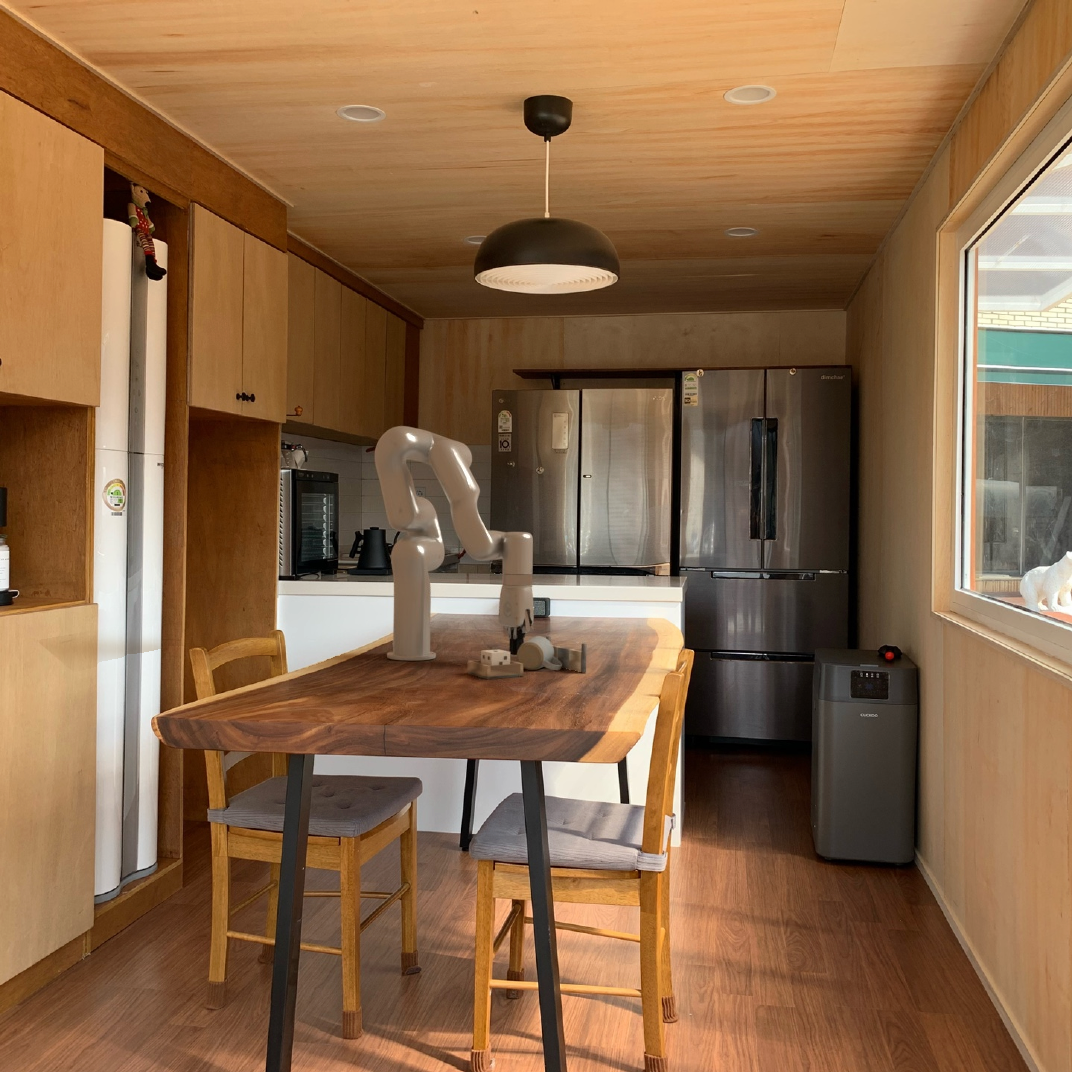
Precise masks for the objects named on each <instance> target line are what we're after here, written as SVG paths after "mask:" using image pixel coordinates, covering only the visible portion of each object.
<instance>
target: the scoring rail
mask: <svg viewBox="0 0 1072 1072" xmlns="http://www.w3.org/2000/svg"><path fill="white" fill-rule="evenodd" d="M545 638H546V639H548V640H549V641H550V642H551V640H552V639H551V638H552V637H551V636H548V635H547V636H545ZM552 646H553V648H554V657H555V658H557V659H558V660H559V661H560V662H561V663H562V667H561V669H562V668H567V669H570V670H569V671H571V670H576V671H579V672H582V673H581V674H586V673H587V649H588V647H587V643H581V650H578V649H573V648H569V647H563V646H559V645H554V644H552ZM552 664H553V663H552ZM567 669H566V670H567ZM579 672H578V673H579ZM585 672H586V673H585Z"/></svg>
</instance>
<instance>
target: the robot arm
mask: <svg viewBox="0 0 1072 1072" xmlns="http://www.w3.org/2000/svg"><path fill="white" fill-rule="evenodd" d="M407 460H408V461H414V462H415V461H416V462H420V463H423V464H426V465H429V466H430V467H431V469H432V470H433V473H434V474H435V476H436V478H437V481H438V482H439V484H440V486H441V488H442V490H443V492H444V494H445V496H446V498H447V500H448V501H447V502H449V507H450V508H449V509H450V515H451V521H452V525H453V529H454V531H455V533H456V535H457V537H458V539H459V541H460V544H461V545H462V547H463V549H464V550H465V551H464V552H466V553H467V554H468V556H469V557H470V558H471V559H473V560H476V561H478V562H480V561H481V562H484V561H485V562H486V561H497V560H502V578H501V579H502V581H501V582H502V583H501V584H502V585H501V587H500V588H501V589H500V594H499V602H498V603H499V604H498V623H499V624H500V625H501V626H503V628H504V629H505V630H506V631H507V633H508V635H507V636H508V639H509V650H508V652H510V656H512V655H513V656H517V651H518V649H519V647H520V646H521V645H522V644H523V643H524V642H525V638H526V634H527V633H530V632H531V627H532V626H533V624H534V616H535V615H534V612H535V608H534V596H533V564H534V562H533V555H534V554H533V552H534V543H533V542H534V539H533V535H532V534H531V533H530V532H526V531H507V532H506V531H499V530H491V529H489V530H487V528H486V527H485V524H484V522H483V520H482V518H481V515H480V513H479V510H478V500H479V497H480V493H481V489H480V486H479V485H478V483H477V481H476V478H475V477H474V475H473V473H472V471H471V469H470V468H471V466H472V462H473V455H472V451H471V450H470V448H469V447H468V445H466V444H465V443H463V442H460V441H457V440H454V439H450V438H448V437H446V436H442V435H440V434H437V433H434V432H431V431H429V430H425V429H421V428H415V427H411V426H406V425H399V426H393V427H391V428H389V429H388V430H386V432H384V433H383V434H382V435H381V437H380V438H379V439H378V441H377V444H376V446H375V450H374V463H375V464H374V465H375V468H376V472H377V476H378V479H379V484H380V489H381V494H382V498H383V503H384V508H385V512H386V517H387V521H388V524H389V526H390V527H391V528H392V529H393V530H394V531H397V532H403V533H407V536H405V537H402V538H400V539H399V540H398V541H397V542H395V544H394V545H393V547H392V550H391V555H390V556H391V557H390V561H391V569H392V575H393V577H392V578H393V625H392V626H393V627H392V628H393V631H392V632H393V633H392V634H393V637H392V643H391V645H392V651H389V652H387V653H386V657H387V659H390V660H395V661H407V662H408V661H413V662H414V661H427V660H433V659H436V657H437V653H436V652H434V651H431V603H432V601H431V599H432V598H431V597H432V595H431V593H432V591H431V589H432V588H431V579H430V575H429V572H431V571H434V570H437V569H438V568H439V567H440V566H442V564H443V562H444V559H445V555H446V553H445V551H446V550H445V545H444V540H443V539H444V538H443V535H442V531H441V527H440V523H439V517H438V515H437V511H436V509H435V506H434V505H433V503H431V501H429V499H427V498H425V497H423V496H418V495H417V492H416V488H415V484H414V480H413V479H414V477H413V476H412V473H411V471H410V469H409V468H408V465H407Z"/></svg>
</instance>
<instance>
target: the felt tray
mask: <svg viewBox="0 0 1072 1072" xmlns="http://www.w3.org/2000/svg"><path fill="white" fill-rule="evenodd" d="M466 667H467V669H466V670H467V671H466V674H467V673H468V674H467V675H471V676H475V677H477V676H478V678H481V679H485V680H496V679H497V680H498V679H508V678H509V679H510V677H511V678H521V677H520V676H523V677H524V668H523V663H519V662H518V661H514V660H510V664H504V665H490V666H488V665H485V664H481V659H479V660H478V659H475V660H467V664H466ZM518 676H519V677H518Z"/></svg>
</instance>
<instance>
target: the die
mask: <svg viewBox="0 0 1072 1072" xmlns="http://www.w3.org/2000/svg"><path fill="white" fill-rule="evenodd" d="M480 651H481V652H480V660H481V664H485V665H488V666H490V665H504V664H510V661H511V654H510V652H509V650H503V649H499V648H498V649H486V650H480Z"/></svg>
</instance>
